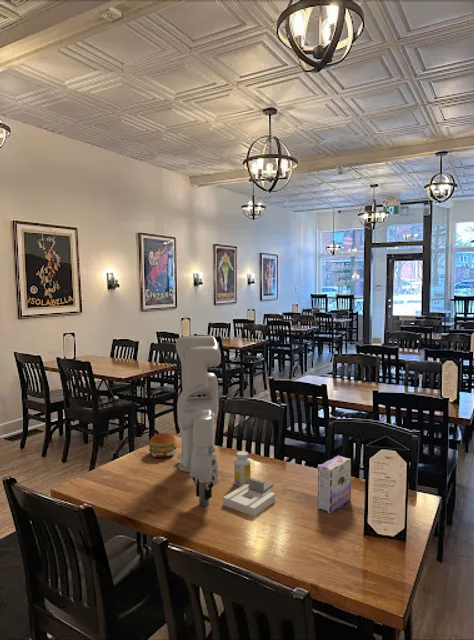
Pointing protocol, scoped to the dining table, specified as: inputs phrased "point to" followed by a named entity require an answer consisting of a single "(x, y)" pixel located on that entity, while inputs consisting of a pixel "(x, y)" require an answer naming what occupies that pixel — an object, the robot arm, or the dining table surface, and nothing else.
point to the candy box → (334, 484)
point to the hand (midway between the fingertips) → (203, 496)
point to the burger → (162, 445)
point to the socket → (248, 500)
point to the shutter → (259, 485)
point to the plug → (202, 494)
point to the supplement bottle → (242, 468)
